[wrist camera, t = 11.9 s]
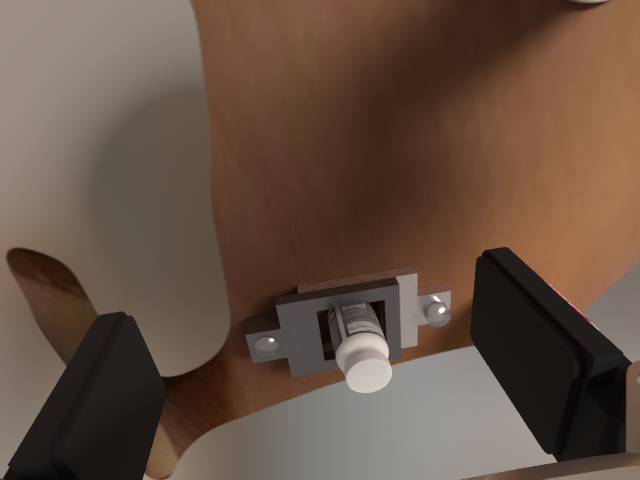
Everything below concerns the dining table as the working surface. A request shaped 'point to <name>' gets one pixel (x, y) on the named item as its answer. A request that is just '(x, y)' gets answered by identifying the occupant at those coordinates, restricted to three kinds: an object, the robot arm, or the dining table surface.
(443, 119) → the dining table surface
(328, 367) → the knobbed square frame
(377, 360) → the pill bottle
